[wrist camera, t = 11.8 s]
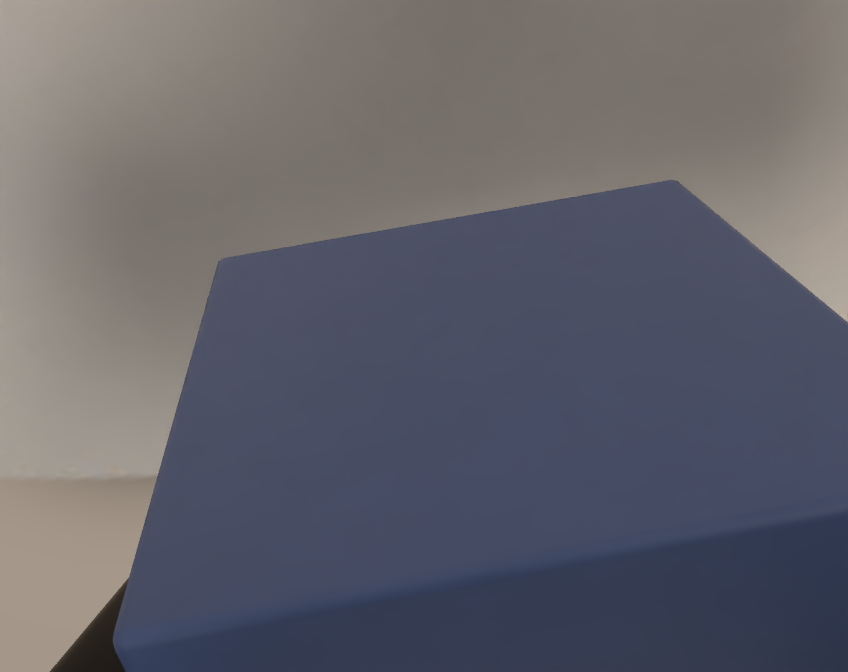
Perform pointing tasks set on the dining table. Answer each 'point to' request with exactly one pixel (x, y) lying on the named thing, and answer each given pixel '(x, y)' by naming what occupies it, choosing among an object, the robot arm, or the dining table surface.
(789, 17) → the dining table surface
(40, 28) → the dining table surface
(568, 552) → the blue block
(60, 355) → the dining table surface
